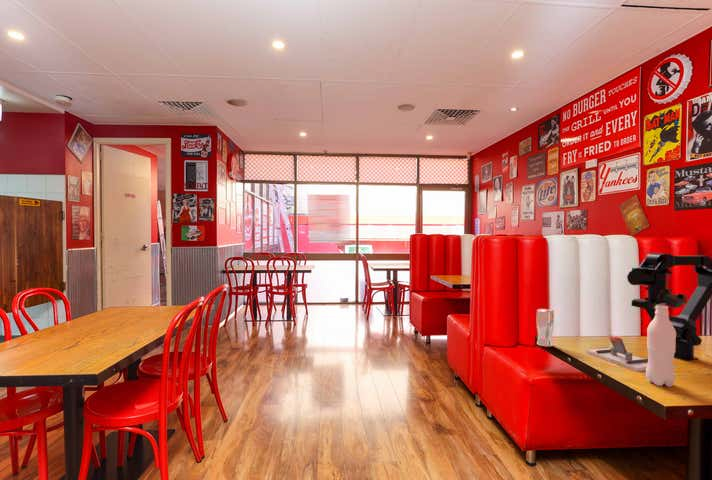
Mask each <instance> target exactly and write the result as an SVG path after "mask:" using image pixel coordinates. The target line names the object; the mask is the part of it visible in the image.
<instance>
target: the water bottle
mask: <svg viewBox="0 0 712 480" xmlns="http://www.w3.org/2000/svg"><path fill="white" fill-rule="evenodd" d="M668 308H669V306H668V305H666V306H656V310H655V311H656V312H655V313H656V314H655V317H654V319H653V320H651V322H650V323H649V324H648V327H647V329H646V332H647V335H646V348H647V356H648V358H647V359H648V365H647V368H646V370H645V375H646V378H647V380H648V382H649V383H651V384H652V383H653V384H654V385H656V386H658V387H662V386H663V385H664V386H666V387H668V388H670V387H672V386H673V385H674V383H675V381H676V374H675V370H674V369H675V368H674V358H675V357H674V354H675V351H676V350H675V344H676V331H675V329H674V327H673V325H672V324H671V322H670V320H669V318H670V317H669V315H670V313H669V310H668Z"/></svg>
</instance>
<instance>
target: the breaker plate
mask: <svg viewBox="0 0 712 480" xmlns="http://www.w3.org/2000/svg"><path fill="white" fill-rule="evenodd" d="M586 354H588V355H591V356H593V357H596V356H597V357H596V358H599V359H602V360H606V361H608V362H610V363H613V364H615V363H616V364H617V365H618V366H621V367H624V368H626V369H629V370H633V371H635V372H641V371H646V368H647V365H648V358H642V357H639V356H635V355H634V354H633V352H628V351H627V353H626V354H625V355H624V354H621V353H618V352H615V350H614V347H608V348H595V349H593V348H592V349H586Z"/></svg>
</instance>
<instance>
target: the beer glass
mask: <svg viewBox="0 0 712 480" xmlns="http://www.w3.org/2000/svg"><path fill="white" fill-rule="evenodd" d="M535 319H536V321H535V323H536V329H537V341H536V345H538V346H540V347H547V348H548V347H549V348H550V347H553V341H552V340H553V339H552V338H553V337H552V336H553V332H554V327H555V310H554V309H549V308H548V309H547V308H537V309H536V318H535Z"/></svg>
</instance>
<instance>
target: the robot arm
mask: <svg viewBox="0 0 712 480" xmlns="http://www.w3.org/2000/svg"><path fill="white" fill-rule="evenodd" d="M675 266H693V268H694V272H695V273H696V275H697V277H696V280H697V286H696V288H695V290H694V291H693V293H692V295H691V296H690V298H689V300H688V301H687V296H686V295H685V294H683V293H678V294H675V293H672V292H671V289H670V288H668V275H672V274H673V272H672V271H671V270H670V268H674V267H675ZM626 278H627V282H628V283H629V284H630V285H632V286H644V290H645V291H647V296H645V297H644V299H643V298H634V299H632V300H631V306H632V307H635V308H640V309H644V310H645V311H646V313H647V315H648V316H649V318H650V321H652V320H653V319H654V317H655V314H656V313H655V312H656V311H655V310H656V306H668V311H669V310H671V309H672V308H674V309H677V308H680V309H681V308H683V306H684V304H685V306H684V308H683V309H682V311H681V312H680V314H679V315H677V316H675V315H671V316H670V317H668V318H669V320H670V322H671V324H672V325H673V327H674V329H675V331H676V344H675V350H676V351H675V354H674V358H677V359H681V360H684V361H688V362H689V361H695V360H699V359H700V358H699V357H696V356H695V347H697V346H701V344H702V338H701V337H700V336H699V335H698V334H697V330H698V328H697V320H698V318H700V315H701V314H702V312H703V310H704V309H705V307H706V306H707V304H708V302H709V301H710V299H711V298H712V258H711V257H710V256H709V255H704V254H703V255H699V254H695V255H673V254H669V253H661V252H659V253H657V252H649V253H647V255H646V256H645V258H644V260H642V262H641V263H640V265H639V266H638V267H632V268H631V271H629V272H628V274H627V277H626ZM669 307H671V308H669Z"/></svg>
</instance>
